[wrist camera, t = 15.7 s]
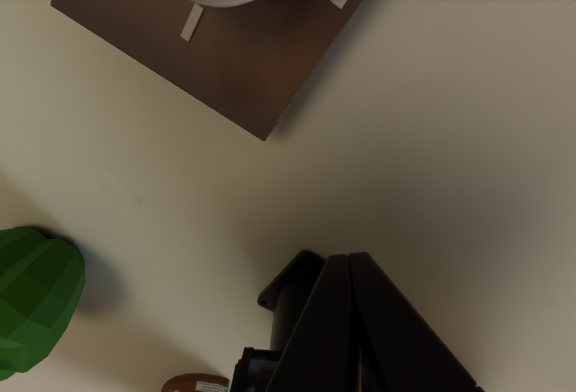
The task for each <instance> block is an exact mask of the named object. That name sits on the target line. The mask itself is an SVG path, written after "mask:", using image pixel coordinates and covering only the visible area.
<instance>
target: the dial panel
mask: <svg viewBox="0 0 576 392" xmlns="http://www.w3.org/2000/svg"><path fill="white" fill-rule="evenodd" d="M361 2H362V0H254V1H251V2H248V3H245V4H241V5H238V6H232V7H211V6H205V5H201V4H198V3H195V2H192V1H190V0H51V6H52V7H54V8H55V9H57V10H59V11H60V12H62V13H63V14H65V15H66V16H68V17H69V18H71V19H73V20H74V21H76V22H77V23H79V24H80V25H82V26H84V27H85V28H87V29H88V30H90V31H91V32H93V33H95V34H96V35H98V36H99V37H101V38H102V39H104V40H106V41H107V42H109V43H110V44H112V45H113V46H115V47H117V48H118V49H120V50H121V51H123V52H124V53H126V54H127V55H129V56H131V57H132V58H134V59H135V60H137V61H138V62H140V63H142V64H143V65H145V66H146V67H148V68H149V69H151V70H153V71H154V72H156V73H157V74H159V75H160V76H162V77H164V78H165V79H167V80H168V81H170V82H171V83H173V84H174V85H176V86H178V87H179V88H181V89H182V90H184V91H185V92H187V93H189V94H190V95H192V96H193V97H195V98H196V99H198V100H200V101H201V102H203V103H204V104H206V105H207V106H209V107H211V108H212V109H214V110H215V111H217V112H218V113H220V114H221V115H223V116H225V117H226V118H228V119H229V120H231V121H232V122H234V123H236V124H237V125H239V126H240V127H242V128H243V129H245V130H247V131H248V132H250V133H251V134H253V135H254V136H256V137H258V138H259V139H261V140H262V141H265V140H266V139H267V137H268V136H269V134H270V133H271V131H272V130H273V128H274V127H275V126H276V124H277V123H278V121H279V120H280V118H281V117H282V116H283V114H284V113H285V111H286V110H287V108H288V107H289V105H290V104H291V103H292V101H293V100H294V98H295V97H296V95H297V94H298V92H299V91H300V90H301V88H302V87H303V85H304V84H305V82H306V81H307V80H308V78H309V77H310V75H311V74H312V72H313V71H314V69H315V68H316V67H317V65H318V64H319V62H320V61H321V59H322V58H323V56H324V55H325V54H326V52H327V51H328V49H329V48H330V46H331V45H332V44H333V42H334V41H335V39H336V38H337V36H338V35H339V33H340V32H341V31H342V29H343V28H344V26H345V25H346V23H347V22H348V21H349V19H350V18H351V16H352V15H353V13H354V12H355V10H356V9H357V8H358V6H359V5H360V3H361Z"/></svg>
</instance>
